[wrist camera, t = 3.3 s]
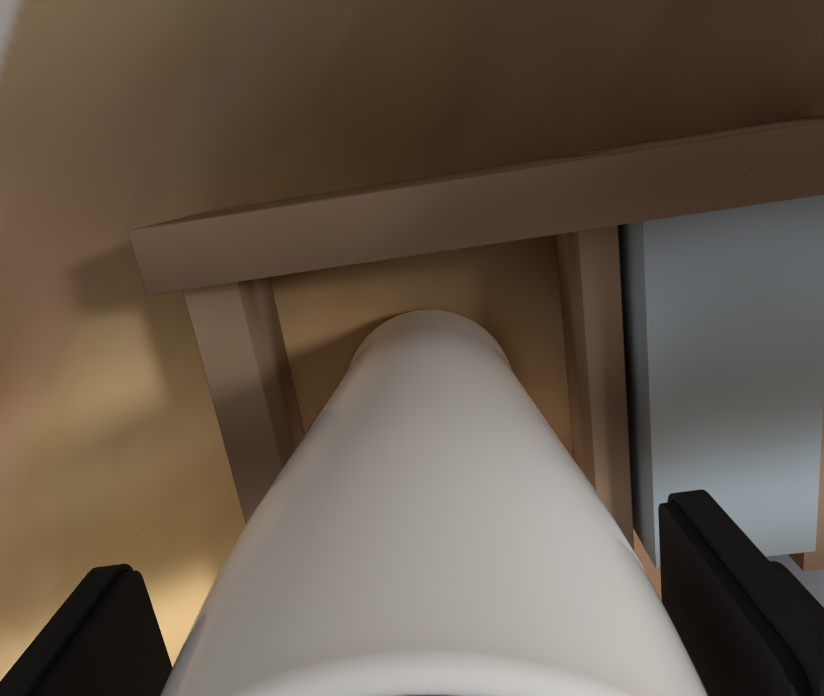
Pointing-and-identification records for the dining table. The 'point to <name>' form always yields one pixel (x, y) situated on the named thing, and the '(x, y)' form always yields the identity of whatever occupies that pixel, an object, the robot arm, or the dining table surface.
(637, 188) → the walnut cubby
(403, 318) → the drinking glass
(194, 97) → the dining table surface
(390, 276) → the dining table surface
